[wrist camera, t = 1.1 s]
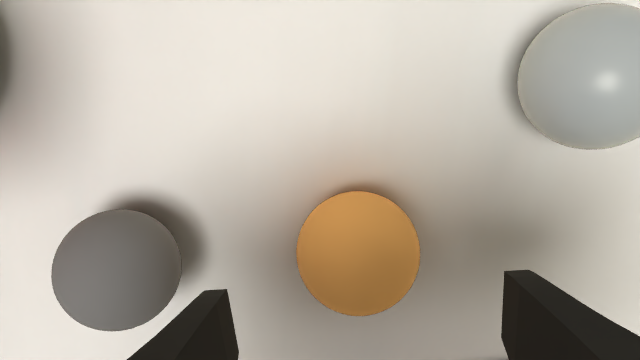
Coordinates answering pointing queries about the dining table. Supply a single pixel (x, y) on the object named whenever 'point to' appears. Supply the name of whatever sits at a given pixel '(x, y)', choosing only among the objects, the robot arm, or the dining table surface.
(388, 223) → the ball
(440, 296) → the dining table surface
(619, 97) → the slate ball
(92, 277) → the charcoal ball
